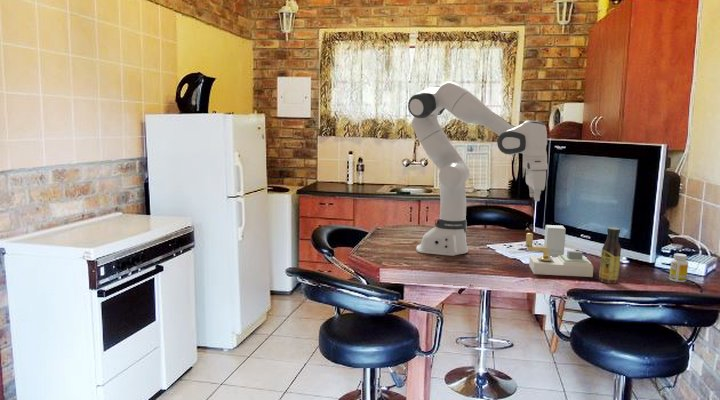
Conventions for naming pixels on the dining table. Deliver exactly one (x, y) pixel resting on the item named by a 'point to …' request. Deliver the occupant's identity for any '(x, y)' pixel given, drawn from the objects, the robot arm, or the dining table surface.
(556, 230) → the supplement box
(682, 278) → the supplement bottle
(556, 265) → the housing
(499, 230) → the dining table surface
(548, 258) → the brass crank key
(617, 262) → the sauce bottle
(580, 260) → the sage cover
